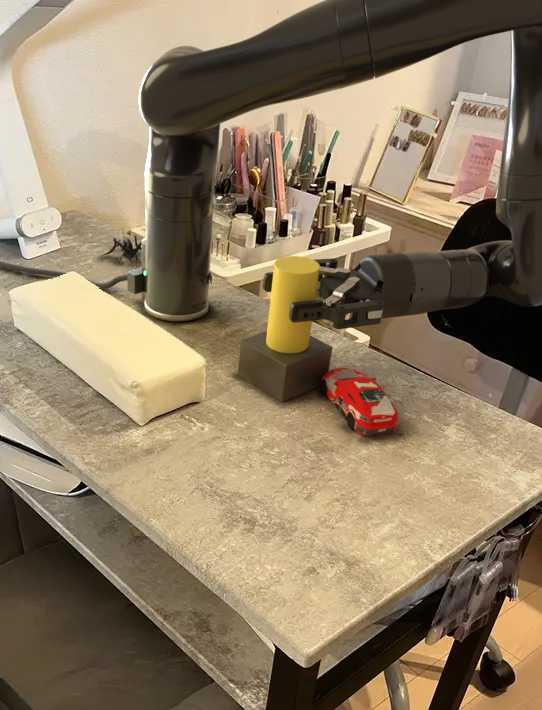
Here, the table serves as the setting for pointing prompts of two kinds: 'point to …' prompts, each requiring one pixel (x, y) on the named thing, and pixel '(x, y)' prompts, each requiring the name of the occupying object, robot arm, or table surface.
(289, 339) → the canister
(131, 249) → the creature
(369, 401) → the race car
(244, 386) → the table surface
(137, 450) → the table surface
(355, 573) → the table surface
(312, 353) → the block
